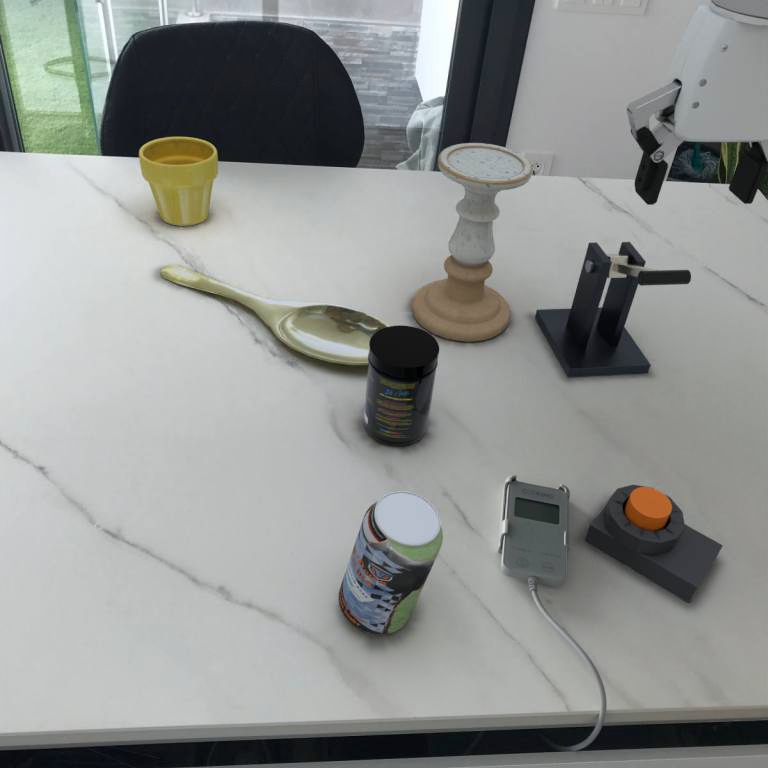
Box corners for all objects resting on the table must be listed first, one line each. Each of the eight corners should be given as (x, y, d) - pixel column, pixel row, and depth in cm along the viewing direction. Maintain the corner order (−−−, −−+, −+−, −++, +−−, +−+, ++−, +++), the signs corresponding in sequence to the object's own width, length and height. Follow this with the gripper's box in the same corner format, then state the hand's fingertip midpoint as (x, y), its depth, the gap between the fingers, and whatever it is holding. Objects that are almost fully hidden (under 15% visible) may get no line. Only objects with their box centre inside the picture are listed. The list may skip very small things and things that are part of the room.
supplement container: (434, 446, 78) (447, 365, 72) (369, 452, 77) (376, 370, 70) (419, 402, 83) (430, 323, 77) (357, 407, 82) (363, 327, 75)
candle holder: (505, 351, 92) (539, 193, 79) (403, 332, 93) (421, 175, 80) (512, 296, 101) (544, 148, 88) (420, 280, 103) (438, 132, 90)
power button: (672, 514, 69) (678, 501, 68) (655, 538, 66) (662, 524, 65) (635, 493, 70) (640, 480, 69) (617, 516, 68) (623, 502, 67)
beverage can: (336, 579, 65) (341, 480, 57) (422, 576, 66) (439, 479, 58) (339, 646, 60) (346, 548, 53) (432, 642, 61) (453, 545, 53)
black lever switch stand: (647, 373, 91) (682, 279, 82) (567, 377, 89) (595, 281, 81) (608, 314, 100) (636, 225, 92) (534, 317, 98) (556, 226, 90)
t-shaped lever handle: (690, 289, 77) (692, 265, 76) (643, 291, 76) (645, 266, 75) (626, 274, 89) (628, 253, 89) (586, 275, 88) (587, 254, 88)
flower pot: (178, 192, 117) (172, 129, 111) (235, 211, 114) (232, 146, 107) (131, 219, 109) (122, 153, 103) (191, 240, 106) (184, 172, 100)
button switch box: (715, 559, 70) (731, 530, 67) (688, 605, 66) (703, 576, 63) (614, 502, 74) (626, 473, 72) (583, 541, 70) (593, 512, 68)
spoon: (135, 298, 97) (132, 284, 96) (193, 264, 105) (191, 250, 103) (373, 390, 83) (373, 374, 82) (420, 343, 91) (421, 328, 89)
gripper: (833, -13, 65) (755, 179, 76) (641, -22, 62) (589, 180, 73) (892, 12, 59) (799, 216, 70) (684, 3, 56) (621, 218, 67)
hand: (692, 197), depth 71 cm, fingers open, 9 cm apart
